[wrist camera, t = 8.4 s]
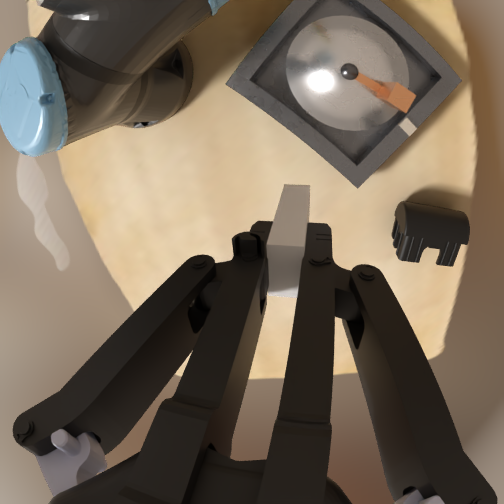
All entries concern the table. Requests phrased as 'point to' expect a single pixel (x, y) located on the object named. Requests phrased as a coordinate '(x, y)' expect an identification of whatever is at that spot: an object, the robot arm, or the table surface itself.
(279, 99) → the housing
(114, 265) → the table surface
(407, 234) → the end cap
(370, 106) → the dial
